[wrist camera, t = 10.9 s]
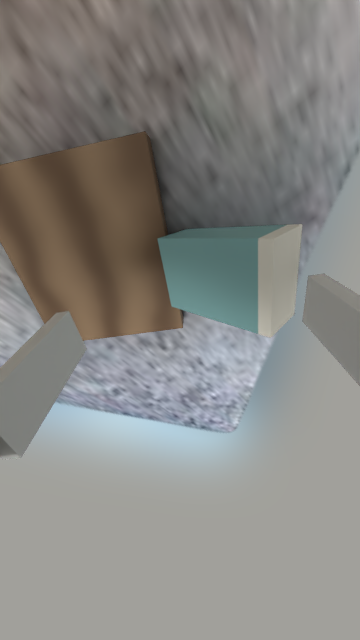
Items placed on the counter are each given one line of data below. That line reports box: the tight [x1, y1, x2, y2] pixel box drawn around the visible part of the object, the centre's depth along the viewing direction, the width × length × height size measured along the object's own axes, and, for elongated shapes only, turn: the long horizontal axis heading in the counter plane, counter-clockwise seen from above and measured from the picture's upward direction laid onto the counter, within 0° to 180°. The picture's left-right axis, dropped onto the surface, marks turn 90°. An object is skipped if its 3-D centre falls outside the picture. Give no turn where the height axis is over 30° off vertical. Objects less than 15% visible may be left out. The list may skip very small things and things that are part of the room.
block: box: [158, 224, 302, 338], centre depth 20 cm, size 4×7×11 cm
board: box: [0, 132, 183, 341], centre depth 24 cm, size 16×18×2 cm
